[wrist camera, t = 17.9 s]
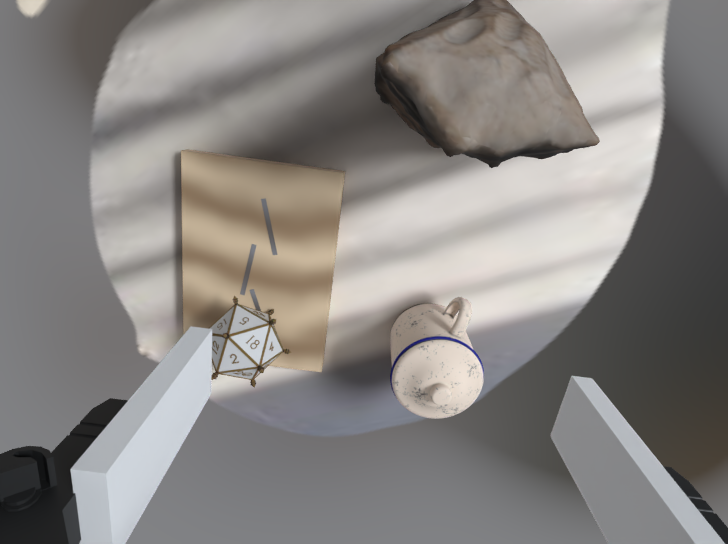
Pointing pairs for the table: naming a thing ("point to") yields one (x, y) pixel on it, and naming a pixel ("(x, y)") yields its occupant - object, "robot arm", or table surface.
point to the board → (261, 246)
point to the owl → (483, 87)
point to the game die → (244, 342)
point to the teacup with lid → (435, 360)
